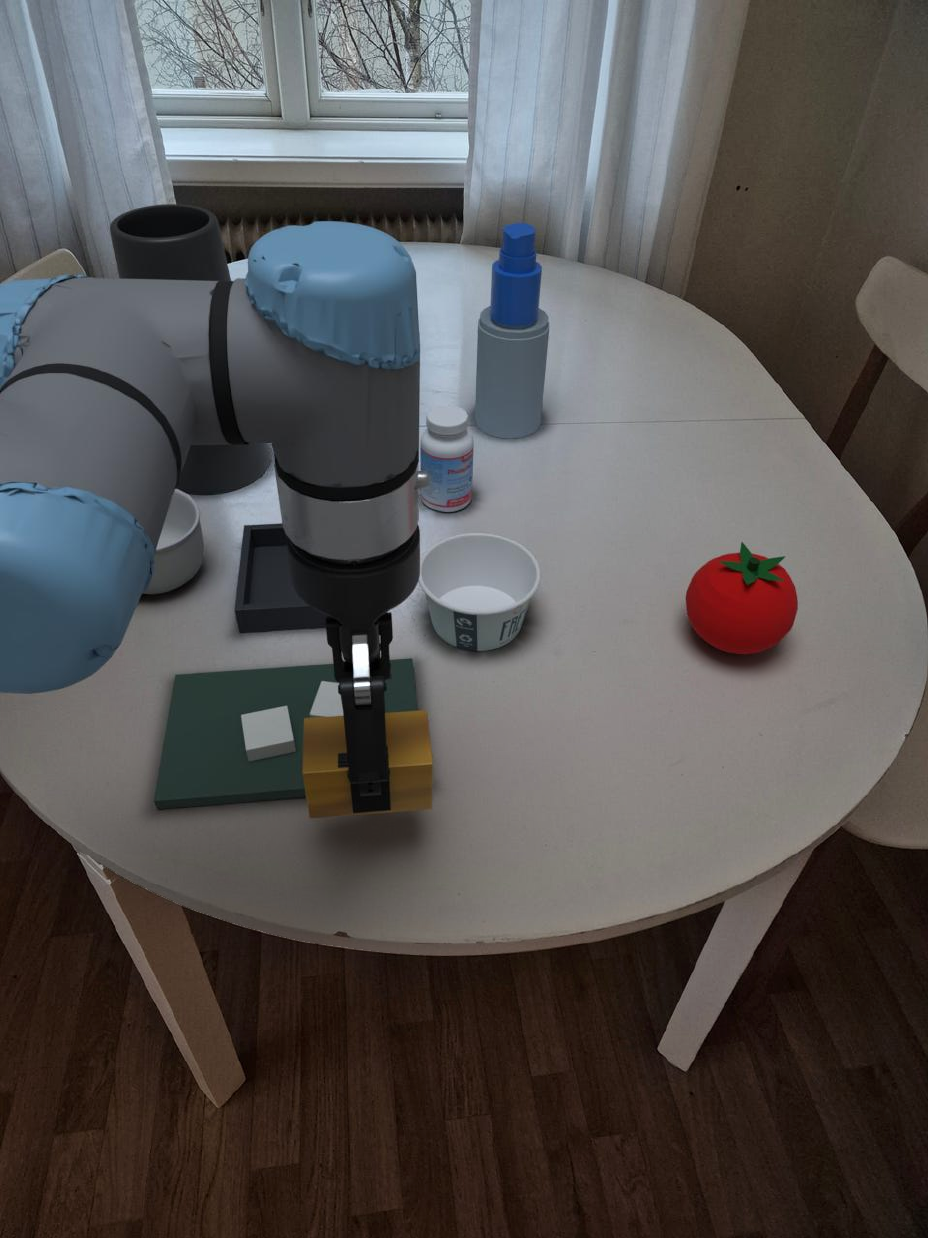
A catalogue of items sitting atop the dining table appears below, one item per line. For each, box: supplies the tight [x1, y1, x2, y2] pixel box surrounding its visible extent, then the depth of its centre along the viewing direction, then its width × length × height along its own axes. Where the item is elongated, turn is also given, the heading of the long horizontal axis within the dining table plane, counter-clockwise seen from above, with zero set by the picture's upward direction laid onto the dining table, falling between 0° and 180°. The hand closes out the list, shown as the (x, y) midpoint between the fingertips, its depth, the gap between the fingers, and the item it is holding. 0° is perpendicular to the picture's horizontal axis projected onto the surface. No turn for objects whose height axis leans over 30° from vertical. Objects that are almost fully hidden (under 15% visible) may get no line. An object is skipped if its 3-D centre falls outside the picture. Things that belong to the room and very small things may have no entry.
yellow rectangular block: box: [302, 709, 434, 819], centre depth 63 cm, size 5×9×6 cm, turn 96°
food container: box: [418, 532, 542, 652], centre depth 85 cm, size 12×12×6 cm
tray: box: [233, 522, 329, 634], centre depth 90 cm, size 10×14×3 cm
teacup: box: [142, 489, 205, 595], centre depth 88 cm, size 14×11×8 cm
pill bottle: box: [419, 404, 475, 513], centre depth 99 cm, size 6×6×11 cm
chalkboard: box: [153, 657, 419, 810], centre depth 76 cm, size 22×14×1 cm, turn 97°
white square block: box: [310, 681, 343, 718], centre depth 76 cm, size 4×4×2 cm
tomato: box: [685, 541, 799, 655], centre depth 83 cm, size 10×10×10 cm
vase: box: [109, 203, 271, 496], centre depth 97 cm, size 14×14×29 cm
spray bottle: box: [474, 222, 550, 440], centre depth 107 cm, size 9×9×25 cm
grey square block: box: [241, 706, 296, 762], centre depth 74 cm, size 4×4×2 cm
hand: (370, 774), depth 64 cm, fingers closed on yellow rectangular block, 5 cm apart
